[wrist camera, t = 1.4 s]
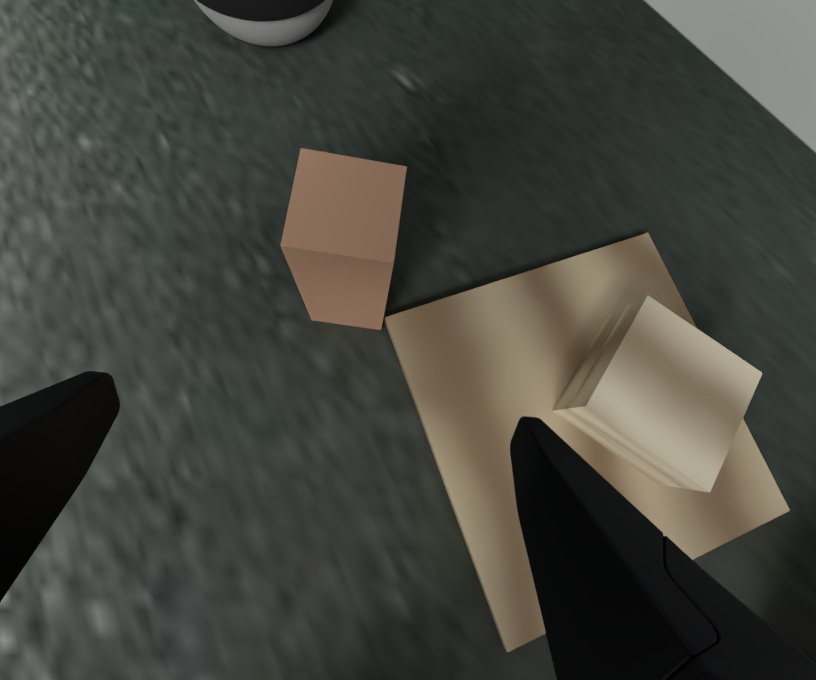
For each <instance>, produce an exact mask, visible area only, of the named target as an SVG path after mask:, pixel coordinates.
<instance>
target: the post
mask: <svg viewBox="0 0 816 680" xmlns="http://www.w3.org/2000/svg"><path fill="white" fill-rule="evenodd" d="M406 169H407V167H406V166H401V165H395V164H389V163H384V162H378V161H372V160H366V159H361V158H355V157H349V156H343V155H338V154H332V153H326V152H320V151H315V150H309V149H303V148H301V150H300V155H299V159H298V164H297V169H296V174H295V179H294V183H293V188H292V193H291V198H290V202H289V207H288V212H287V217H286V221H285V226H284V231H283V236H282V241H281V245H280V246H281V248H282V251H283V253H284V255H285V258H286V260H287V263H288V265H289V267H290V270H291V272H292V274H293V277H294V279H295V282H296V284H297V286H298V289H299V291H300V294H301V296H302V298H303V301H304V303H305V306H306V308H307V310H308V313H309V315H310V317H311V320H313V321H320V322H327V323H334V324H341V325H348V326H355V327H363V328H370V329H377V330H381V329H382V323H383V318H384V313H385V307H386V302H387V297H388V291H389V286H390V281H391V275H392V270H393V265H394V258H395V250H396V243H397V236H398V228H399V221H400V214H401V206H402V199H403V191H404V184H405V177H406Z"/></svg>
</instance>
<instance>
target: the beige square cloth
mask: <svg viewBox="0 0 816 680" xmlns="http://www.w3.org/2000/svg"><path fill="white" fill-rule="evenodd" d="M647 295H648V296H650V297H651V298H653V299H654V300H656V301H657V302H659V303H660V304H662V305H663V306H664V307H666V308H667V309H669V310H670V311H672V312H673V313H675V314H676V315H678V316H679V317H681V318H682V319H684V320H685V321H687V322H688V323H690V324H691V325H693V326H694V327H695V328H697V327H696V325H695V323H694V321H693V319H692V318H691V316H690V314H689V312H688V310H687V308H686V306H685V304H684V302H683V300H682V298H681V296H680V294H679V292H678V290H677V288H676V286H675V284H674V282H673V280H672V278H671V276H670V274H669V273H668V271H667V269H666V267H665V265H664V263H663V261H662V259H661V257H660V255H659V253H658V251H657V249H656V247H655V245H654V243H653V241H652V239H651V237H650V235H649V233H645V234H642V235H639V236H636V237H633V238H630V239H627V240H624V241H620V242H617V243H614V244H611V245H608V246H605V247H602V248H599V249H596V250H592V251H589V252H586V253H583V254H580V255H577V256H574V257H571V258H568V259H564V260H561V261H558V262H555V263H552V264H549V265H546V266H543V267H540V268H537V269H533V270H530V271H527V272H524V273H521V274H518V275H515V276H512V277H509V278H505V279H502V280H499V281H496V282H493V283H490V284H487V285H484V286H481V287H477V288H474V289H471V290H468V291H465V292H462V293H459V294H456V295H453V296H449V297H446V298H443V299H440V300H437V301H434V302H431V303H428V304H425V305H421V306H418V307H415V308H412V309H409V310H406V311H403V312H400V313H397V314H394V315H390V316H387V317H385V319H384V321H385V324H386V326H387V329H388V332H389V335H390V337H391V340H392V343H393V345H394V348H395V351H396V354H397V356H398V359H399V362H400V365H401V367H402V370H403V373H404V376H405V378H406V381H407V384H408V387H409V389H410V392H411V395H412V398H413V400H414V403H415V406H416V408H417V411H418V414H419V417H420V419H421V422H422V425H423V428H424V430H425V433H426V436H427V439H428V441H429V444H430V447H431V450H432V452H433V455H434V458H435V461H436V463H437V466H438V469H439V471H440V474H441V477H442V480H443V482H444V485H445V488H446V491H447V493H448V496H449V499H450V502H451V504H452V507H453V510H454V513H455V515H456V518H457V521H458V524H459V526H460V529H461V532H462V534H463V537H464V540H465V543H466V545H467V548H468V551H469V554H470V556H471V559H472V562H473V565H474V567H475V570H476V573H477V576H478V578H479V581H480V584H481V587H482V589H483V592H484V595H485V597H486V600H487V603H488V606H489V608H490V611H491V614H492V617H493V619H494V622H495V625H496V628H497V630H498V633H499V636H500V639H501V641H502V644H503V647H504V648H505V650H506V651H507V653H508V652H510V651H512V650H514V649H516V648H518V647H520V646H522V645H524V644H526V643H528V642H530V641H532V640H534V639H536V638H538V637H540V636H542V635H544V634H546V631H545V627H544V623H543V619H542V614H541V610H540V606H539V602H538V597H537V593H536V589H535V585H534V581H533V576H532V572H531V568H530V564H529V560H528V555H527V551H526V547H525V543H524V538H523V534H522V530H521V526H520V521H519V517H518V512H517V505H516V497H515V489H514V481H513V472H512V464H511V456H510V443H511V439H512V437H513V434H514V431H515V429H516V426H517V424H518V421H519V419H520V418H521V417H523V416H529V417H537V418H540V419H541V420H542V421H543V422H544V423H546V424H547V425H548V426H549V427H550V428H551V429H552V430H553V431H554V432H555V433H556V434H557V435H558V436H560V437H561V438H562V439H563V440H564V441H565V442H566V443H567V444H568V445H569V446H570V447H571V448H572V449H573V450H575V451H576V452H577V453H578V454H579V455H580V456H581V457H582V458H583V459H584V460H585V461H586V462H587V463H589V464H590V465H591V466H592V467H593V468H594V469H595V470H596V471H597V472H598V473H599V474H600V475H601V476H603V477H604V478H605V479H606V480H607V481H608V482H609V483H610V484H611V485H612V486H613V487H614V488H615V489H616V490H618V491H619V492H620V493H621V494H622V495H623V496H624V497H625V498H626V499H627V500H628V501H629V502H630V503H632V504H633V505H634V506H635V507H636V508H637V509H638V510H639V511H640V512H641V513H642V514H643V515H644V516H646V517H647V518H648V519H649V520H650V521H651V522H652V523H653V524H654V525H655V526H656V527H657V528H658V529H659V530H661V531H662V532H663V536H667V537H668V538H669V539H670V540H671V541H673V542H674V543H675V544H676V545H677V546H678V547H679V548H680V549H681V550H682V551H683V552H684V553H686V554H687V555H688V556H689V557H690V558H691V559H692V560H693V559H695V558H697V557H699V556H701V555H703V554H705V553H707V552H709V551H711V550H713V549H715V548H717V547H719V546H721V545H723V544H725V543H727V542H729V541H731V540H733V539H735V538H737V537H739V536H741V535H743V534H745V533H747V532H749V531H751V530H753V529H755V528H756V527H758V526H760V525H762V524H764V523H766V522H768V521H770V520H772V519H774V518H776V517H778V516H780V515H782V514H784V513H786V512H788V511H790V509H789V507H788V505H787V503H786V502H785V500H784V498H783V496H782V494H781V492H780V490H779V488H778V486H777V484H776V482H775V480H774V478H773V476H772V474H771V472H770V470H769V468H768V466H767V464H766V462H765V460H764V458H763V457H762V455H761V453H760V451H759V449H758V447H757V445H756V443H755V441H754V439H753V437H752V435H751V433H750V431H749V429H748V427H747V425H746V423H745V421H744V419H742V421H741V423H740V426H739V428H738V430H737V432H736V435H735V437H734V439H733V442H732V444H731V446H730V448H729V451H728V453H727V455H726V457H725V460H724V462H723V464H722V467H721V469H720V471H719V473H718V476H717V478H716V480H715V482H714V485H713V487H712V489H711V492H703V491H697V490H690V489H684V488H677V487H671V486H665V485H658V484H656V483H655V482H653V481H652V480H650V479H649V478H648V477H646V476H645V475H643V474H642V473H640V472H639V471H638V470H636V469H635V468H633V467H632V466H630V465H629V464H628V463H626V462H625V461H623V460H622V459H621V458H619V457H618V456H616V455H615V454H613V453H612V452H611V451H609V450H608V449H606V448H605V447H603V446H602V445H601V444H599V443H598V442H596V441H595V440H593V439H592V438H591V437H589V436H588V435H586V434H585V433H583V432H582V431H581V430H579V429H578V428H576V427H575V426H573V425H572V424H571V423H569V422H568V421H566V420H565V419H563V418H562V417H561V416H559V415H558V414H556V413H555V412H553V409H554V407H555V406H556V404H557V402H558V401H559V399H560V397H561V395H562V394H563V392H564V390H565V388H566V387H567V385H568V383H569V382H570V380H571V378H572V376H573V375H574V373H575V371H576V369H577V368H578V366H579V364H580V363H581V361H582V359H583V357H584V356H585V354H586V352H587V351H588V349H589V347H590V345H591V344H592V342H593V340H594V338H595V337H596V335H597V333H598V332H599V330H600V328H601V326H602V325H603V323H604V321H605V320H606V318H607V316H608V315H609V314H611V313H613V312H615V311H617V310H619V309H621V308H623V307H625V306H627V305H629V304H631V303H633V302H635V301H637V300H639V299H641V298H643V297H645V296H647Z"/></svg>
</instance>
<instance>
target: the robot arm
mask: <svg viewBox="0 0 816 680" xmlns="http://www.w3.org/2000/svg"><path fill="white" fill-rule="evenodd" d="M119 408H120V402H119V398H118V394H117V391H116V387H115V384H114V381H113V378H112V376H111V375H110V374H108V373H104V372H94V371H87V372H84V373H81V374H79V375H77V376H74V377H72V378H69V379H67V380H64V381H62V382H59V383H57V384H54V385H52V386H50V387H47V388H45V389H42V390H40V391H37V392H35V393H32V394H30V395H27V396H25V397H23V398H20V399H18V400H15V401H13V402H10V403H8V404H5V405H3V406H0V602H1V600H2V599H3V597H4V596H5V594H6V593H7V591H8V590H9V588H10V587H11V585H12V584H13V582H14V581H15V579H16V578H17V576H18V575H19V573H20V572H21V570H22V569H23V567H24V566H25V565H26V563H27V562H28V560H29V559H30V557H31V556H32V554H33V553H34V551H35V550H36V548H37V547H38V545H39V544H40V542H41V541H42V539H43V538H44V536H45V535H46V533H47V532H48V530H49V529H50V527H51V526H52V524H53V523H54V521H55V520H56V518H57V517H58V515H59V514H60V513H61V511H62V510H63V508H64V507H65V505H66V504H67V502H68V501H69V499H70V498H71V496H72V495H73V493H74V492H75V490H76V489H77V487H78V486H79V484H80V483H81V481H82V479H83V478H84V476H85V475H86V473H87V471H88V469H89V468H90V466H91V464H92V462H93V460H94V458H95V456H96V454H97V453H98V451H99V449H100V447H101V445H102V443H103V441H104V439H105V437H106V436H107V434H108V432H109V430H110V428H111V426H112V424H113V422H114V420H115V418H116V417H117V415H118V412H119ZM510 456H511V464H512V472H513V481H514V489H515V497H516V505H517V512H518V517H519V521H520V526H521V530H522V534H523V538H524V543H525V547H526V551H527V555H528V560H529V564H530V568H531V572H532V576H533V581H534V585H535V589H536V593H537V597H538V602H539V606H540V610H541V614H542V619H543V623H544V627H545V631H546V635H547V640H548V644H549V648H550V652H551V656H552V661H553V665H554V669H555V673H556V678H557V680H816V663H815V662H813V661H812V660H811V659H810V658H809V657H807V656H806V655H805V654H804V653H802V652H801V651H800V650H799V649H798V648H796V647H795V646H794V645H793V644H792V643H790V642H789V641H788V640H787V639H786V638H784V637H783V636H782V635H781V634H779V633H778V632H777V631H776V630H775V629H773V628H772V627H771V626H770V625H769V624H767V623H766V622H765V621H764V620H763V619H761V618H760V617H759V616H758V615H756V614H755V613H754V612H753V611H752V610H750V609H749V608H748V607H747V606H746V605H744V604H743V603H742V602H741V601H740V600H738V599H737V598H736V597H735V596H734V595H732V594H731V593H730V592H729V591H728V590H727V589H725V588H724V587H723V586H722V585H721V584H719V583H718V582H717V581H716V580H715V579H714V578H712V577H711V576H710V575H709V574H708V573H707V572H706V571H704V570H703V569H702V568H701V567H700V566H699V565H698V564H697V563H696V562H694V561H693V560H692V559H691V558H690V557H689V556H688V555H687V554H686V553H684V552H683V551H682V550H681V549H680V548H679V547H678V546H677V545H676V544H675V543H674V542H673V541H671V540H670V539H669V538H668V537H667V536H663V532H662V531H661V530H659V529H658V528H657V527H656V526H655V525H654V524H653V523H652V522H651V521H650V520H649V519H648V518H647V517H646V516H644V515H643V514H642V513H641V512H640V511H639V510H638V509H637V508H636V507H635V506H634V505H633V504H632V503H630V502H629V501H628V500H627V499H626V498H625V497H624V496H623V495H622V494H621V493H620V492H619V491H618V490H616V489H615V488H614V487H613V486H612V485H611V484H610V483H609V482H608V481H607V480H606V479H605V478H604V477H603V476H601V475H600V474H599V473H598V472H597V471H596V470H595V469H594V468H593V467H592V466H591V465H590V464H589V463H587V462H586V461H585V460H584V459H583V458H582V457H581V456H580V455H579V454H578V453H577V452H576V451H575V450H573V449H572V448H571V447H570V446H569V445H568V444H567V443H566V442H565V441H564V440H563V439H562V438H561V437H560V436H558V435H557V434H556V433H555V432H554V431H553V430H552V429H551V428H550V427H549V426H548V425H547V424H546V423H544V422H543V421H542V420H541V419H540V418H537V417H529V416H523V417H521V418H520V419H519V421H518V424H517V426H516V429H515V431H514V434H513V437H512V439H511V443H510Z"/></svg>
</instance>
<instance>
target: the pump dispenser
mask: <svg viewBox="0 0 816 680" xmlns="http://www.w3.org/2000/svg"><path fill="white" fill-rule="evenodd" d="M194 1H195V2H196V4H197V5H198V6H199V7H200V9H201V10H202V11H203V12H204V13H205V14H206V15H207V16H208V17H209V18H210V19H211V20H212V21H213V22H214V23H215V24H216V25H217V26H219V27H220V28H221V29H223V30H224V31H226V32H227V33H229V34H230V35H232V36H234V37H236V38H238V39H240V40H242V41H245V42H248V43H251V44H255V45H261V46H282V45H287V44H291V43H294V42H296V41H299V40H301V39H303V38H305V37H306V36H308V35H309V34H310V33H312V32H313V31H314V30H315V29H316V28H317V27H318V26H319V25H320V24H321V22H322V21H323V20H324V18H325V16H326V15H327V13H328V11H329V9H330V7H331V5H332V2H333V0H194Z"/></svg>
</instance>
